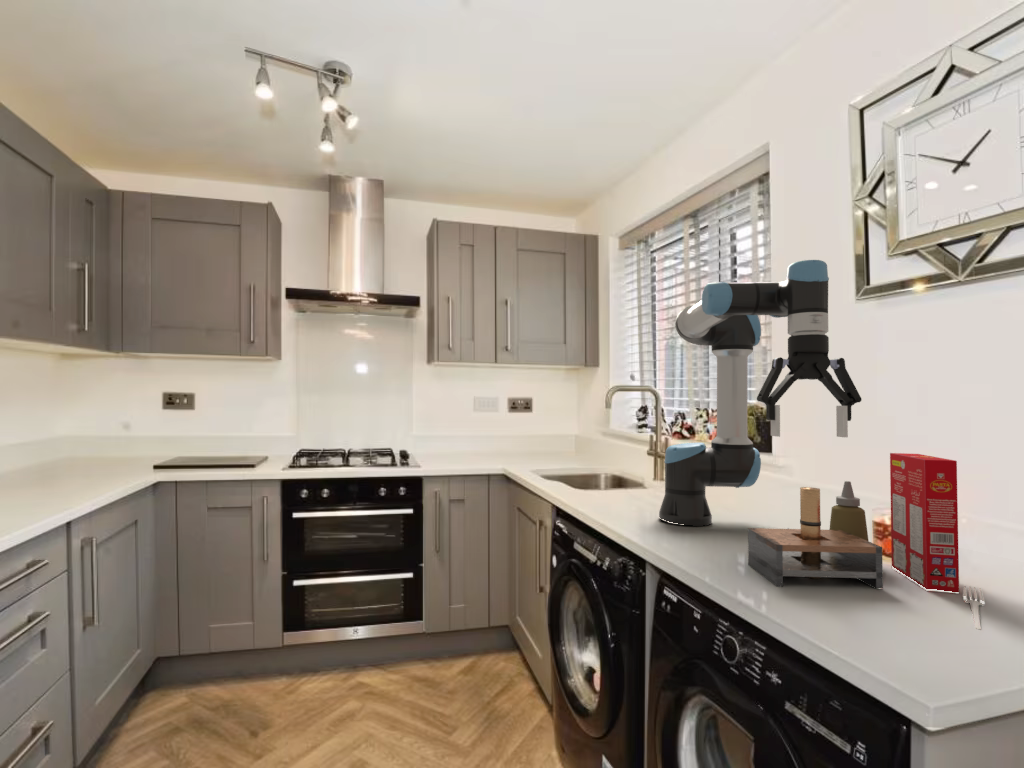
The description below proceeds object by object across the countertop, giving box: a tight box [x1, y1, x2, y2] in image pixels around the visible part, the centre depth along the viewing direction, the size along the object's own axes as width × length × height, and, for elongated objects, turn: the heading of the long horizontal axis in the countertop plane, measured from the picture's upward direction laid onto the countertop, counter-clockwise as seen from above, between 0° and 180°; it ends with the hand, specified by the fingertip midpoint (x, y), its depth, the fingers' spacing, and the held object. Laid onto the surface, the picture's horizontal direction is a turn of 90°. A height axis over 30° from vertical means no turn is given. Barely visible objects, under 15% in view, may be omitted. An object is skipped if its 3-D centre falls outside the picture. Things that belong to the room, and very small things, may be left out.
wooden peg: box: [799, 486, 822, 580], centre depth 111 cm, size 4×4×18 cm
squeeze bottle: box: [828, 480, 870, 542], centre depth 122 cm, size 8×8×18 cm
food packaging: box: [889, 452, 960, 593], centre depth 109 cm, size 15×5×25 cm, turn 167°
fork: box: [962, 585, 985, 631], centre depth 93 cm, size 3×20×2 cm, turn 141°
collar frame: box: [747, 527, 884, 589], centre depth 111 cm, size 14×20×8 cm
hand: (808, 436), depth 112 cm, fingers open, 13 cm apart
